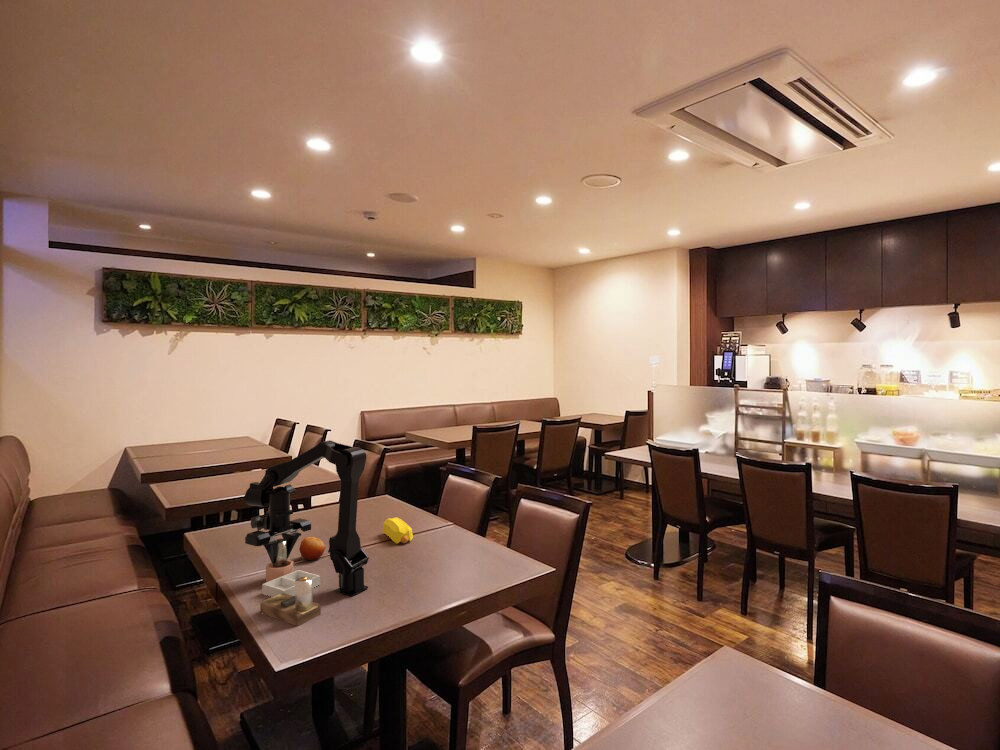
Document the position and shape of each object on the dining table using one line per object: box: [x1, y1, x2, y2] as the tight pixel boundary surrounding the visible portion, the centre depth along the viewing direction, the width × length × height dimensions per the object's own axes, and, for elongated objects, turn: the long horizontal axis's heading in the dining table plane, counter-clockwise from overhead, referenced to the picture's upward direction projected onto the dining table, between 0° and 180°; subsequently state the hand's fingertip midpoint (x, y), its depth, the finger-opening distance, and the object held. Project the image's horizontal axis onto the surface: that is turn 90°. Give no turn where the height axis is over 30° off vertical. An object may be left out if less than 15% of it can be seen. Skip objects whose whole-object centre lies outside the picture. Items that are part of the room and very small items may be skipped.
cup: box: [265, 559, 295, 583], centre depth 156 cm, size 7×7×5 cm
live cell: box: [295, 577, 313, 612], centre depth 132 cm, size 4×4×8 cm
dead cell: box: [272, 538, 288, 567], centre depth 156 cm, size 4×4×8 cm
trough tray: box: [262, 569, 321, 598], centre depth 149 cm, size 9×12×3 cm
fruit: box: [299, 536, 326, 562], centre depth 174 cm, size 8×8×8 cm
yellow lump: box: [381, 516, 414, 545], centre depth 195 cm, size 18×7×8 cm
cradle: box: [259, 593, 322, 627], centre depth 134 cm, size 15×7×4 cm, turn 60°
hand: (279, 560), depth 156 cm, fingers closed on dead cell, 4 cm apart
